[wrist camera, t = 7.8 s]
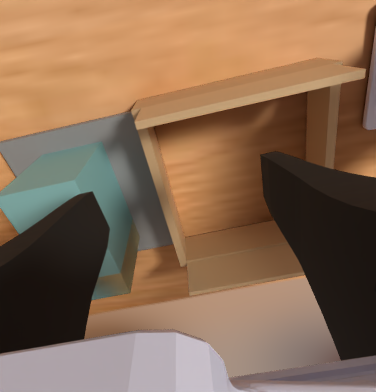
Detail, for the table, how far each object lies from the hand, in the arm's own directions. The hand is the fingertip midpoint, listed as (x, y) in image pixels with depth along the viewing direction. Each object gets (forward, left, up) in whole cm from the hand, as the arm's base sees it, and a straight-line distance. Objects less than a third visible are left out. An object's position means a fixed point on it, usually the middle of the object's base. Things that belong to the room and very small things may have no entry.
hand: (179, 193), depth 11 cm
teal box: (+8, +4, -9) cm, 12 cm away
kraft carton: (-4, +4, -9) cm, 11 cm away
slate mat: (+8, +4, -9) cm, 13 cm away
